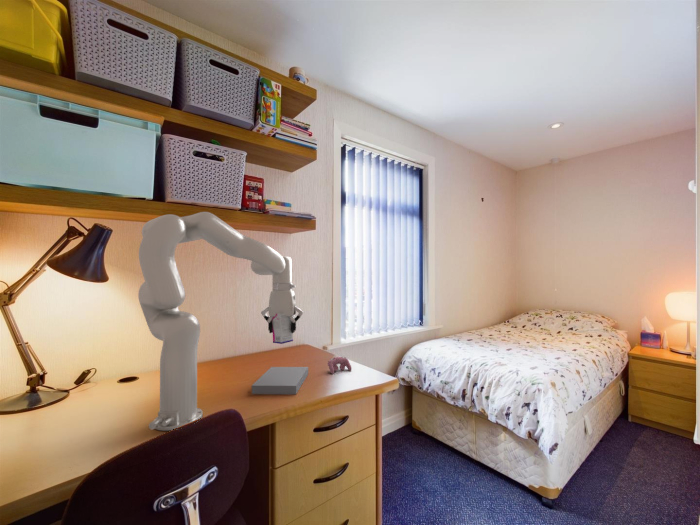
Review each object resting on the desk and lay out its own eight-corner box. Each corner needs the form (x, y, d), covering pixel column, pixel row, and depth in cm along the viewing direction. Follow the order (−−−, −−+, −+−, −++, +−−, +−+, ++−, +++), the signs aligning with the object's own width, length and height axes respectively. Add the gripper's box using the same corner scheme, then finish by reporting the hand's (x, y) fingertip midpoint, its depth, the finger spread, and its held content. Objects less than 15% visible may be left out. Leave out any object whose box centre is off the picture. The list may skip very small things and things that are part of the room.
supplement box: (293, 341, 119) (292, 311, 119) (281, 344, 114) (279, 313, 115) (284, 339, 123) (283, 311, 123) (272, 342, 118) (270, 313, 119)
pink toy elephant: (348, 372, 135) (345, 356, 138) (352, 370, 132) (349, 353, 135) (328, 375, 131) (325, 359, 134) (331, 373, 127) (328, 356, 130)
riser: (296, 394, 107) (296, 385, 107) (251, 394, 108) (251, 385, 108) (308, 374, 129) (308, 366, 129) (271, 374, 130) (271, 366, 130)
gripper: (305, 287, 123) (306, 330, 122) (263, 287, 124) (263, 330, 123) (301, 287, 115) (302, 334, 114) (257, 288, 116) (257, 334, 116)
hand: (282, 332), depth 119 cm, fingers closed on supplement box, 8 cm apart
